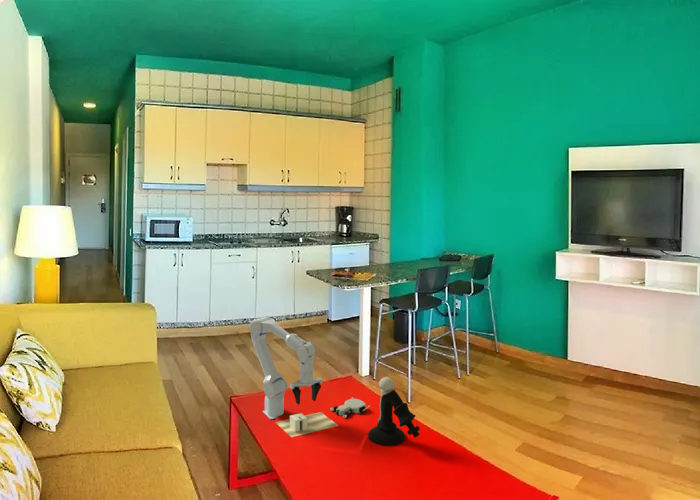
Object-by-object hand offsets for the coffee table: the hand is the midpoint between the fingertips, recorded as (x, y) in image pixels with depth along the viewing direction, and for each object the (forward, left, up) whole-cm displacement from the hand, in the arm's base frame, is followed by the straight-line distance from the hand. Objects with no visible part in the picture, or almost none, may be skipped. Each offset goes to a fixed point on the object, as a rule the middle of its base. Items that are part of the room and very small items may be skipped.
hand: (305, 401), depth 225 cm
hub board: (+3, -1, -9) cm, 10 cm away
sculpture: (+32, +24, -10) cm, 41 cm away
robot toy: (0, +22, -10) cm, 24 cm away
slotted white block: (+5, -6, -8) cm, 12 cm away
